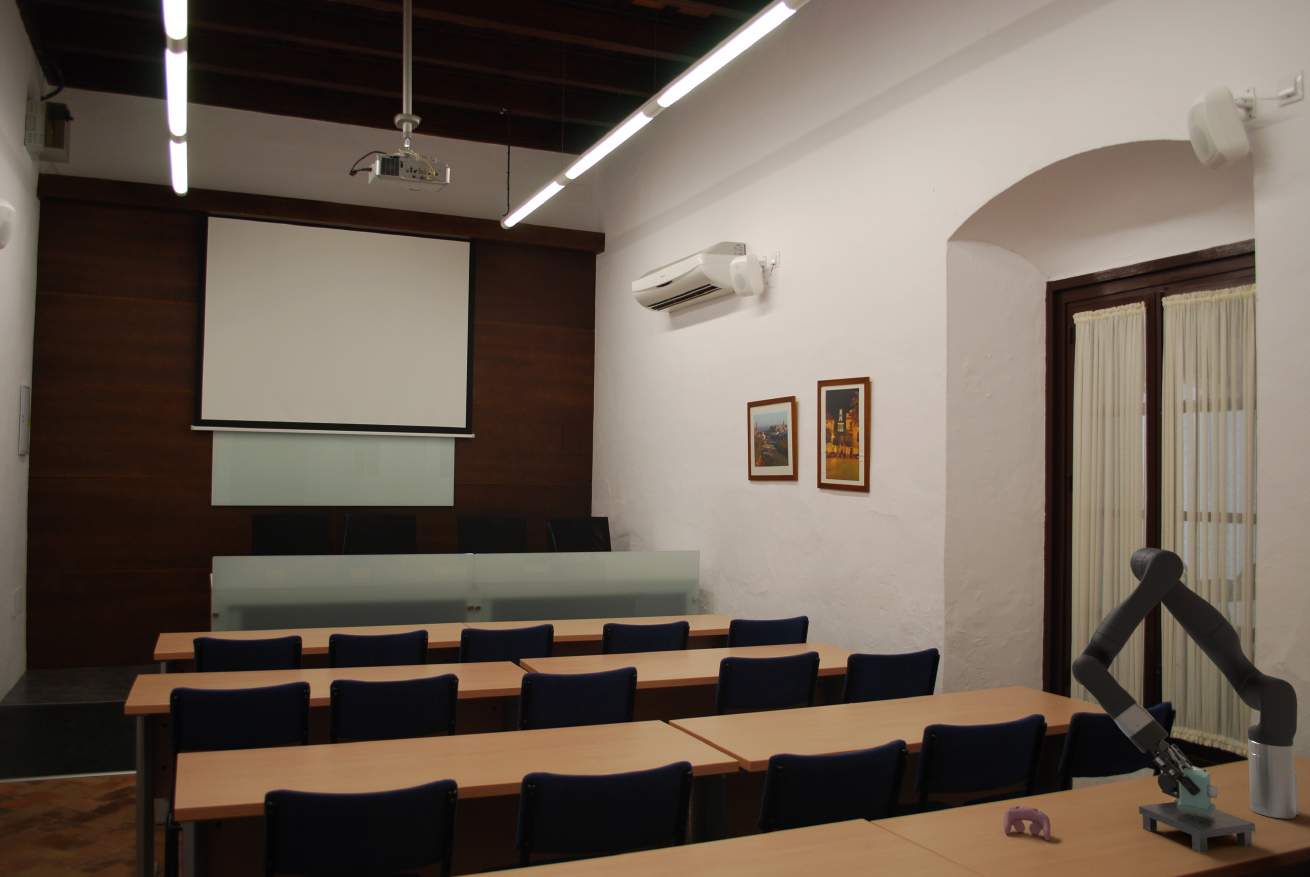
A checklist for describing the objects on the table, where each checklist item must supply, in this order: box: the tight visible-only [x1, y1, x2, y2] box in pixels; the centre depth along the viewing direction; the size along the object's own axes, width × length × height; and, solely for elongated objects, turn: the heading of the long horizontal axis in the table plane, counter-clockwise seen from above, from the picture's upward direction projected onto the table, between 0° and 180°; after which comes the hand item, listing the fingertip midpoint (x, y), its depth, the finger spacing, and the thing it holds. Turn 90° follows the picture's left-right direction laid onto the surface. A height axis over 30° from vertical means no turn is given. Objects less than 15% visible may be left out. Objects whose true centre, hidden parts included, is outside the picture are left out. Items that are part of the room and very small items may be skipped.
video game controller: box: [1003, 805, 1051, 842], centre depth 202 cm, size 10×5×7 cm, turn 66°
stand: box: [1138, 801, 1256, 854], centre depth 201 cm, size 16×16×5 cm
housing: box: [1177, 768, 1219, 815], centre depth 202 cm, size 6×7×8 cm
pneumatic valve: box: [1157, 765, 1207, 802], centre depth 217 cm, size 6×12×12 cm, turn 106°
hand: (1199, 790), depth 202 cm, fingers closed on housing, 5 cm apart
